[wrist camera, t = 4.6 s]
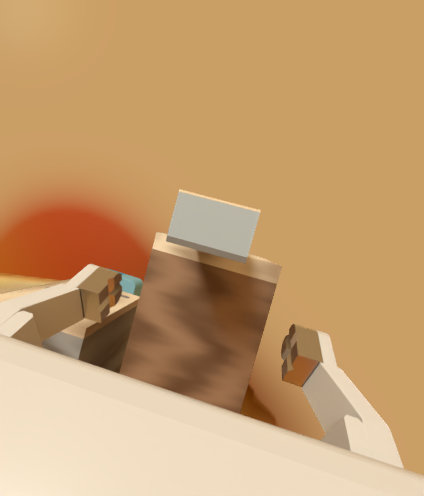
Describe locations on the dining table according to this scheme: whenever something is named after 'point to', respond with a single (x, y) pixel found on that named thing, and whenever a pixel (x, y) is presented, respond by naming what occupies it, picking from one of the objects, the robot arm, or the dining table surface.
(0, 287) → the dining table surface
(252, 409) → the dining table surface
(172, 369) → the tall stand
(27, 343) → the robot arm
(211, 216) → the sanding stick
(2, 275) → the dining table surface
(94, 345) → the grey marbled block
